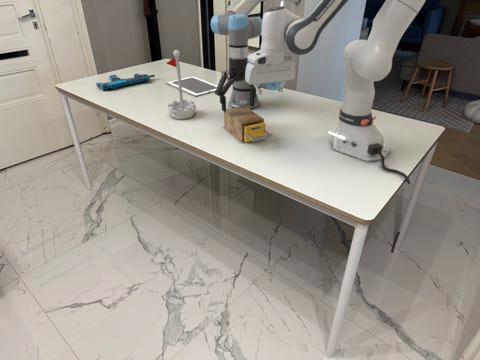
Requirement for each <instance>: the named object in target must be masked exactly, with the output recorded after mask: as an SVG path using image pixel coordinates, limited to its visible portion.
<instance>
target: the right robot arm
mask: <svg viewBox="0 0 480 360" xmlns="http://www.w3.org/2000/svg"><path fill="white" fill-rule="evenodd" d="M348 1H350V0H321V1H320V2H319V3H318V4H317V6H316V7H315V8H314V9H313V11H311V13H310V14H309V15H308V16H307V17H306V18H305V17H301V16H299V15H296V14H295V13H294V14H293V13H291V12H290V11H289V10H287V9H286V8H285V7H277V6H274V7H273V6H272V7H270V8H268V9H266V11H264V13H263V16H262V30H261V35H260V36H261V44H260V49H259V50H257V51H255V52H252V53H250V54H248V56H247V57H248V61H249V63H248V64H247V66H246V72H245V81H246V82H247V83H248V84H250V85H252V84H254V86H255V88H256V94H257V96H260V95H262V92H263V90H262V88H260V89H259V87H258V86H260V83H268V82H276V81H281V84H280V86H278V90H277V92H278V93H282V92H284V87H285V86H286V84H287V81H290V80H292V81H293V80H294V79H295V78H296V62H297V57H296V56H295V55H297V56H303V55H307V54H310V53H311V52H312V51H313V50H314V48H315V47H316V45H317V43H318V42H319V41H318V40H319V38H320V36H321V34H322V32H323V31H324V30H325V28H326V27H327V26H328V25H329V23H331V21H332V20H333V19H334V18H335V16H337V14H338V13H339V12H340V11H341V10H342V9H343V7H344V6H345V5H346V4H347V3H349V2H348ZM426 1H427V0H385V1H384V2H383V4H382V6H381V7H380V9H379V10H378V12H377V14H376V15H375V17H374V18H373V20H372V26H371V30H370V33H369V35H368V37H367V39H355V40H352V41H351V42H348V44H347V45H346V46H345V48H344V50H343V61H344V87H343V88H344V89H343V95H342V96H343V97H342V103H341V108H340V109H339V113H338V122H337V123H338V124H337V127H336V130H335V132H332V131H328V134H330V135H332V136H333V137H332V139H331V144H332V149H333V150H334V151H336V152H340V153H343V154H344V155H345V154H346V155H348V156H351V157H354V158H356V159H359V160H361V161H365V162H374V161H379V160H380V161H381V168H382V169H383V170H385V171H386V172H393V173H395V174H398V175H400V176H402V177H403V178H404V179H405V181H406V183H407V184H408V185H410V184H411V181H410V179H409V176H408V175H407V174H406V173H404V172H402V171H400V170H397V169H394V168H388V167H386V165H385V164H386V163H385V157H387V155H388V154H389V152H390V150H389V148H387V147H386V146H385V138H384V135H383V134H382V133H381V131H379V128H377V126H376V125H375V124H374V121H375V120H376V119H377V116H373V113H372V109H373V104H374V100H375V95H376V90H375V85H374V82H379V81H380V82H381V81H382V80H383V79H385V78H386V77H387V76H389V74H390V72H391V71H392V67H393V58H394V56H395V53H396V50H397V47H398V45H399V43H400V41H401V39H402V38H403V35H404V33H405V32H406V31H407V29H408V28H409V26H410V25H411V23H412V22H413V21H414V19H415V18H416V17H417V15H418V14H419V12H420V11H421V9H422V7H423V6H424V4H425V3H426ZM285 46H286V47H287V48H288V50H289V51H290V54H285V52H286V48H285ZM400 234H401V231H396V235H395V237H394V239H393V243H392V246H391V249H390V253H391V254H393V253H394V250H395V248H396V245H397V242H398V239H399V236H400Z"/></svg>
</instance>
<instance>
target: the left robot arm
mask: <svg viewBox="0 0 480 360" xmlns="http://www.w3.org/2000/svg"><path fill="white" fill-rule="evenodd" d="M265 1H266V0H236V1H234V3H233V4H232V5H230V6H229V8H228V9H227V10H226V11H224V13H222V14H214V15H213V16H212V18H211V19H210V29H211V31H212V32H213V33H214V34H215V35H220V36H228V57H229V58H228V71H227V69H225V70H222V71H221V76H220V79H219V81H218V84H217V85H218V87H217V89H216V91H214V94H215V95H216V96H218V97H219V104H220V105H221V111H223V113H224V112H226V109H227V96H226V94H227V92H228V91H229V89H230V88H231V86H232V91H231V94H230V97H229V103H228V104H229V106H230V108H235V107H240V106H246V107H247V108H249V109H250V110H252V109H255V108H257V107H258V106H259V104H260V103H259V102H260V101H259V97H258V95H257V94H256V88H255V86H254V84H252V85H250V84H248V83H247V82H246V81H245V72H246V66H247V64H248V63H249V61H248V56H249V40H250V39H253V38H257V37H259V36H261V30H262V20H263V18H261V17H260V16H251V17H248V16H249V15H250V13H252V12H253V10H254V9H256V8H257V6H258V5H259V4H260V3H261V2H265ZM275 1H276V3H277V6H276V7H285V8H286V9H287V10H289V11H290V12H291V13H293V14H295V12H296V8H297V7H299V6H300V5H301V3H302V0H275ZM286 47H287V45H286V46H285V49H286ZM280 84H281V81H276V82H268V83H260V86H258V87H259V89H264V90H268V91H278V86H280Z"/></svg>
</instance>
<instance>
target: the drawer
mask: <svg viewBox="0 0 480 360" xmlns="http://www.w3.org/2000/svg"><path fill="white" fill-rule="evenodd" d="M266 126H267V125H266V122H265V121H264V122H263V123H261V122H256V123H252V124H247V125H244V138H245V139H244V141H245V142H244V143H248V142H252V143H254V142H258V141H262V140H266V139H271V138H273V137H274V135H273V133H270V132H269V131H267V130H266Z"/></svg>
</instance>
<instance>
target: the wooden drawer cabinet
mask: <svg viewBox="0 0 480 360" xmlns="http://www.w3.org/2000/svg"><path fill="white" fill-rule="evenodd" d="M256 122H261V123H263V122H264V123H265V118H264V117H262V116H261V115H259V114H258V113H257V112H255V111H253V110H252V109H249V108H247V107H246V106H240V107H235V108H233V107H230V108H226V112H224V111H223V128H224V129H226V130H227V131H228V132H229V133H230V134H232V135H233V136H234V137H235V138H236V139H237V140H238V141H239V142H241V143H246V142H245V141H244V139H245V138H244V125H247V124H252V123H256Z"/></svg>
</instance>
